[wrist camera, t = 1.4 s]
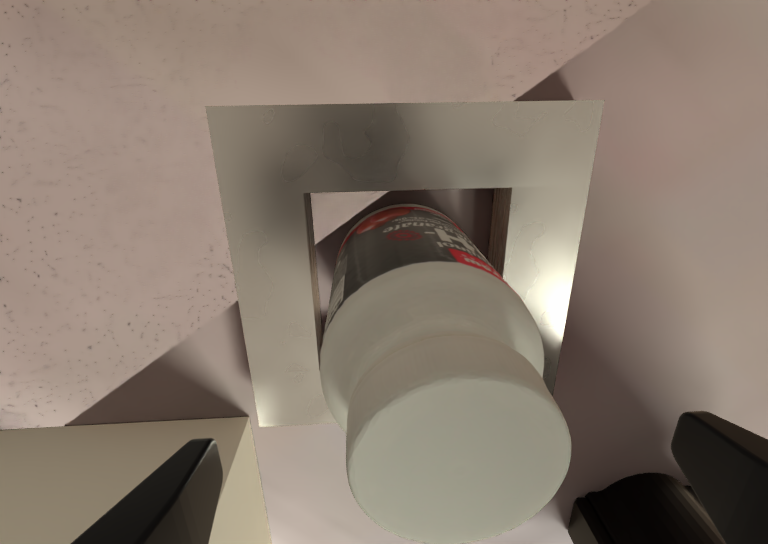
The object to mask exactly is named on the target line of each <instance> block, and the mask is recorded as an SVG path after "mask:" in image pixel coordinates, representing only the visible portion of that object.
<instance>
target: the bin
mask: <svg viewBox="0 0 768 544" xmlns="http://www.w3.org/2000/svg"><path fill="white" fill-rule="evenodd" d="M198 438H213V439H215V441H216V443H217V447H218V451H219V455H220V460H221V464H222V469H223V482H222V487H221V491H220V496H219V500H218V504H217V509H216V513H215V517H214V522H213V526H212V530H211V535H210V539H209V544H272V542H271V536H270V530H269V525H268V519H267V514H266V508H265V503H264V497H263V491H262V486H261V480H260V475H259V469H258V463H257V458H256V452H255V447H254V441H253V436H252V430H251V424H250V419H249V417H233V418H214V419H195V420H176V421H157V422H139V423H120V424H101V425H82V426H63V427H44V428H25V429H6V430H0V544H70V543H72V542H73V541H74V540H75V539H76V538H77V537H79V536H80V535H81V534H82V533H83V532H84V531H85V530H87V529H88V528H89V527H90V526H91V525H92V524H94V523H95V522H96V521H97V520H98V519H99V518H100V517H102V516H103V515H104V514H105V513H106V512H107V511H109V510H110V509H111V508H112V507H113V506H114V505H115V504H117V503H118V502H119V501H120V500H121V499H122V498H124V497H125V496H126V495H127V494H128V493H129V492H130V491H132V490H133V489H134V488H135V487H136V486H137V485H139V484H140V483H141V482H142V481H143V480H144V479H145V478H147V477H148V476H149V475H150V474H151V473H152V472H154V471H155V470H156V469H157V468H158V467H159V466H160V465H162V464H163V463H164V462H165V461H166V460H167V459H169V458H170V457H171V456H172V455H173V454H174V453H175V452H177V451H178V450H179V449H180V448H181V447H182V446H184V445H185V444H186V443H187V442H188V441H190V440H192V439H198Z"/></svg>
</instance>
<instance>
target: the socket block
mask: <svg viewBox="0 0 768 544" xmlns="http://www.w3.org/2000/svg"><path fill="white" fill-rule="evenodd" d="M604 101H605V100H571V101H508V102H445V103H381V104H318V105H255V106H205V107H206V113H207V119H208V125H209V131H210V137H211V143H212V149H213V155H214V161H215V167H216V173H217V178H218V184H219V190H220V196H221V202H222V208H223V214H224V220H225V226H226V232H227V238H228V244H229V250H230V256H231V261H232V267H233V273H234V279H235V285H236V291H237V297H238V303H239V309H240V315H241V321H242V327H243V333H244V338H245V344H246V350H247V356H248V362H249V368H250V374H251V380H252V386H253V392H254V398H255V404H256V410H257V415H258V421H259V427H274V426H292V425H311V424H329V423H337V422H336V420H335V419H334V417H333V416H332V414H331V412H330V410H329V408H328V406H327V404H326V401H325V398H324V394H323V391H322V385H321V378H320V351H321V347H322V342H323V337H322V326H321V314H320V302H319V290H318V278H317V266H316V254H315V242H314V231H313V219H312V207H311V195H310V193H322V192H360V191H398V190H436V189H474V188H494V197H493V208H492V219H491V231H490V242H489V254H488V262H489V263H490V264H491V265H492V266H493V268H494V269H495V270H496V271H497V272H498V273H499V274H500V275H501V277H502V278H503V279H504V280H505V281H506V282H507V283H508V284H509V286H510V287H511V288H512V289H513V290H514V291H515V292H516V293H517V294H518V295H519V297H520V298H521V299H522V300H523V302H524V303H525V305H526V307H527V308H528V310H529V312H530V313H531V315H532V317H533V318H534V320H535V322H536V324H537V327H538V329H539V332H540V335H541V339H542V344H543V351H544V370H543V380H544V383H545V385H546V387H547V389H548V391H549V392H550V394H551V395H552V396H553V390H554V385H555V379H556V373H557V368H558V362H559V356H560V351H561V345H562V339H563V334H564V328H565V322H566V317H567V311H568V305H569V299H570V294H571V288H572V282H573V277H574V271H575V265H576V260H577V254H578V248H579V243H580V237H581V231H582V226H583V220H584V214H585V209H586V203H587V197H588V191H589V186H590V180H591V174H592V169H593V163H594V157H595V152H596V146H597V140H598V135H599V129H600V123H601V118H602V112H603V106H604Z"/></svg>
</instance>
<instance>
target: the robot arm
mask: <svg viewBox="0 0 768 544" xmlns="http://www.w3.org/2000/svg"><path fill="white" fill-rule="evenodd" d="M671 450H672V453H673V456H674V458H675V460H676V461H677V463H678V465H679V467H680V468H681V470H682V472H683V473H684V475H685V477H686V478H687V480H688V482H689V484H690V485H691V486H684V485H683V484H682V483H681V482H680V481H679V480H677V479H675V478H674V477H672V476H669V475H666V474H661V473H643V474H637V475H633V476H629V477H626V478H624V479H621V480H619V481H617V482H615V483H613V484H611V485H610V486H608V487H607V488H605V489H604V490H602V491H598V492H589V493H588V494H586V496H585V497H584V498H577V499H576V501H575V503H574V507H573V511H572V516H571V520H570V524H569V529H568V533H569V535H570V537H571V539H572V541H573V543H574V544H768V440H767V439H765V438H763V437H761V436H759V435H757V434H754V433H752V432H750V431H748V430H746V429H744V428H742V427H739V426H737V425H735V424H733V423H731V422H729V421H727V420H724V419H722V418H720V417H718V416H716V415H714V414H712V413H709V412H706V411H694V412H685V413H683V414H682V415H681V416H680V418H679V421H678V424H677V427H676V430H675V433H674V436H673V439H672V442H671ZM222 482H223V469H222V464H221V460H220V455H219V451H218V447H217V443H216V441H215V439H213V438H198V439H192V440H190V441H188V442H187V443H186V444H185V445H184V446H182V447H181V448H180V449H179V450H178V451H177V452H175V453H174V454H173V455H172V456H171V457H170V458H169V459H167V460H166V461H165V462H164V463H163V464H162V465H160V466H159V467H158V468H157V469H156V470H155V471H154V472H152V473H151V474H150V475H149V476H148V477H147V478H145V479H144V480H143V481H142V482H141V483H140V484H139V485H137V486H136V487H135V488H134V489H133V490H132V491H130V492H129V493H128V494H127V495H126V496H125V497H124V498H122V499H121V500H120V501H119V502H118V503H117V504H115V505H114V506H113V507H112V508H111V509H110V510H109V511H107V512H106V513H105V514H104V515H103V516H102V517H100V518H99V519H98V520H97V521H96V522H95V523H94V524H92V525H91V526H90V527H89V528H88V529H87V530H85V531H84V532H83V533H82V534H81V535H80V536H79V537H77V538H76V539H75V540H74V541H73V542H72V543H70V544H209V539H210V535H211V530H212V526H213V522H214V517H215V513H216V509H217V504H218V500H219V496H220V491H221V487H222Z"/></svg>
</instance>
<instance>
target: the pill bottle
mask: <svg viewBox="0 0 768 544" xmlns="http://www.w3.org/2000/svg"><path fill="white" fill-rule="evenodd" d="M543 370H544V351H543V344H542V339H541V335H540V332H539V329H538V327H537V324H536V322H535V320H534V318H533V317H532V315H531V313H530V312H529V310H528V308H527V307H526V305H525V303H524V302H523V300H522V299H521V298H520V297H519V295H518V294H517V293H516V292H515V291H514V290H513V289H512V288H511V287H510V286H509V284H508V283H507V282H506V281H505V280H504V279H503V278H502V277H501V275H500V274H499V273H498V272H497V271H496V270H495V269H494V268H493V266H492V265H491V264H490V263H489V262H488V261H487V259H486V258H485V257H484V256H483V255H482V254H481V252H480V251H479V250H478V249H477V247H476V246H475V245H474V244H473V243H472V242H471V241H470V239H469V238H468V237H467V236H466V235H465V233H464V232H463V231H462V230H461V229H460V228H459V227H458V226H457V225H456V224H455V223H454V222H453V221H452V220H451V219H450V218H448V217H447V216H445V215H444V214H442V213H440V212H439V211H437V210H435V209H432V208H430V207H426V206H422V205H417V204H396V205H390V206H387V207H383V208H381V209H378V210H376V211H374V212H372V213H370V214H368V215H367V216H365V217H364V218H362V219H361V220H360V221H359V222H357V223H356V224H355V225H354V226H353V228H352V229H351V230H350V231H349V232H348V234H347V236H346V237H345V239H344V240H343V242H342V245H341V247H340V249H339V252H338V256H337V259H336V264H335V270H334V278H333V284H332V290H331V296H330V302H329V308H328V313H327V320H326V324H325V331H324V335H323V342H322V347H321V351H320V378H321V385H322V391H323V394H324V398H325V401H326V404H327V406H328V408H329V410H330V412H331V414H332V416H333V417H334V419H335V420H336V422H337V423H338V425H339V426H340V427H341V428H342V429H343V431H344V432H345V433H346V434H347V436H346V467H347V476H348V482H349V486H350V488H351V491H352V494H353V496H354V498H355V500H356V502H357V503H358V505H359V506H360V507H361V509H362V510H363V511H364V512H365V513H366V515H367V516H368V517H370V518H371V519H372V520H373V521H374V522H375V523H376V524H378V525H379V526H381V527H382V528H384V529H385V530H387V531H389V532H392V533H394V534H396V535H398V536H400V537H403V538H406V539H410V540H413V541H418V542H424V543H429V544H462V543H468V542H474V541H479V540H483V539H487V538H491V537H494V536H497V535H500V534H502V533H504V532H506V531H509V530H512V529H514V528H515V527H517V526H519V525H520V524H522V523H523V522H525V521H526V520H528V519H530V518H531V517H533V516H534V515H535V514H537V513H538V512H539V511H540V510H541V509H542V508H543V507H544V506H545V505H546V504H547V503H548V502H549V501H550V500H551V499H552V498H553V496H554V495H555V494H556V492H557V490H558V489H559V487H560V486H561V484H562V482H563V481H564V478H565V476H566V474H567V471H568V468H569V464H570V459H571V437H570V433H569V429H568V426H567V423H566V420H565V418H564V416H563V414H562V412H561V410H560V408H559V407H558V405H557V403H556V402H555V400H554V399H553V397H552V395H551V394H550V392H549V391H548V389H547V387H546V385H545V383H544V380H543Z"/></svg>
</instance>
